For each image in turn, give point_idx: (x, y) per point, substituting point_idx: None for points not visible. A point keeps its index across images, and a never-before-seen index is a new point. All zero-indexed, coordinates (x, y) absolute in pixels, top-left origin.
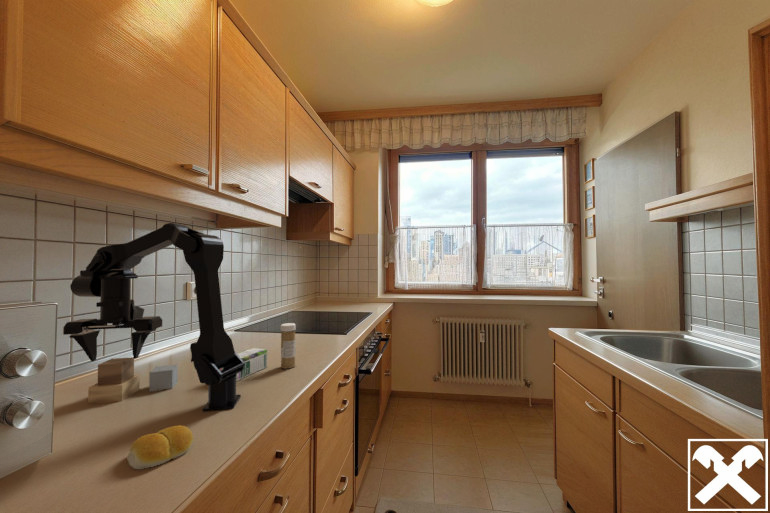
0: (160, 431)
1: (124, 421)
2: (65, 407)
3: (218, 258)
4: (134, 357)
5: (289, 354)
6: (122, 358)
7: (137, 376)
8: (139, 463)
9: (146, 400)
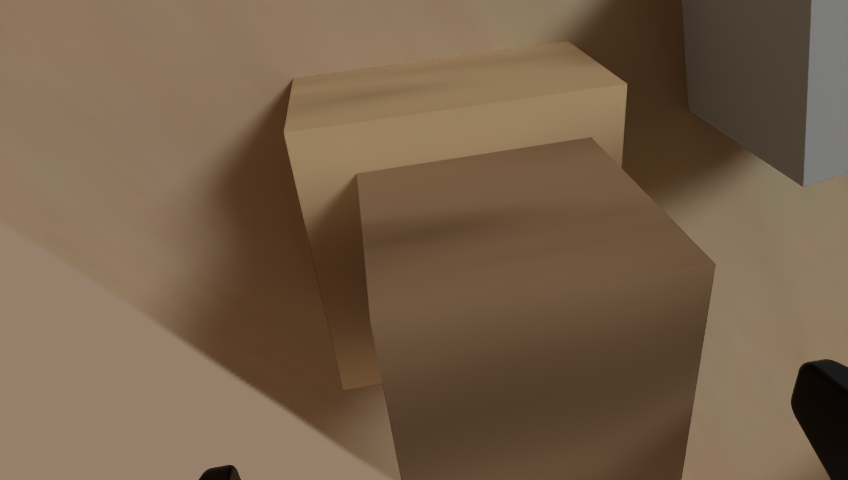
0: None
1: (724, 472)
2: (225, 350)
3: None
4: (814, 428)
5: None
6: (560, 324)
7: (623, 124)
8: None
9: (734, 267)
